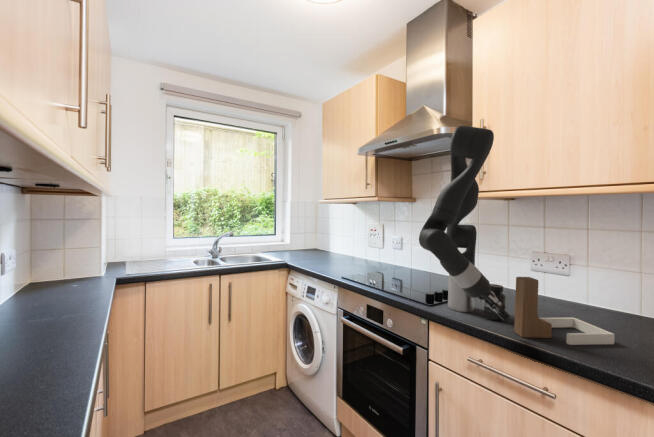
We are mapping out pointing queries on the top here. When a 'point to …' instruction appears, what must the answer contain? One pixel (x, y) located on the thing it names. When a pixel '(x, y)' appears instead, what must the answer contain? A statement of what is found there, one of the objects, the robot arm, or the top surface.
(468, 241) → the robot arm
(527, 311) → the wooden block
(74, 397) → the top surface
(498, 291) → the supplement bottle
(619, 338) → the top surface
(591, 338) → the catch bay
